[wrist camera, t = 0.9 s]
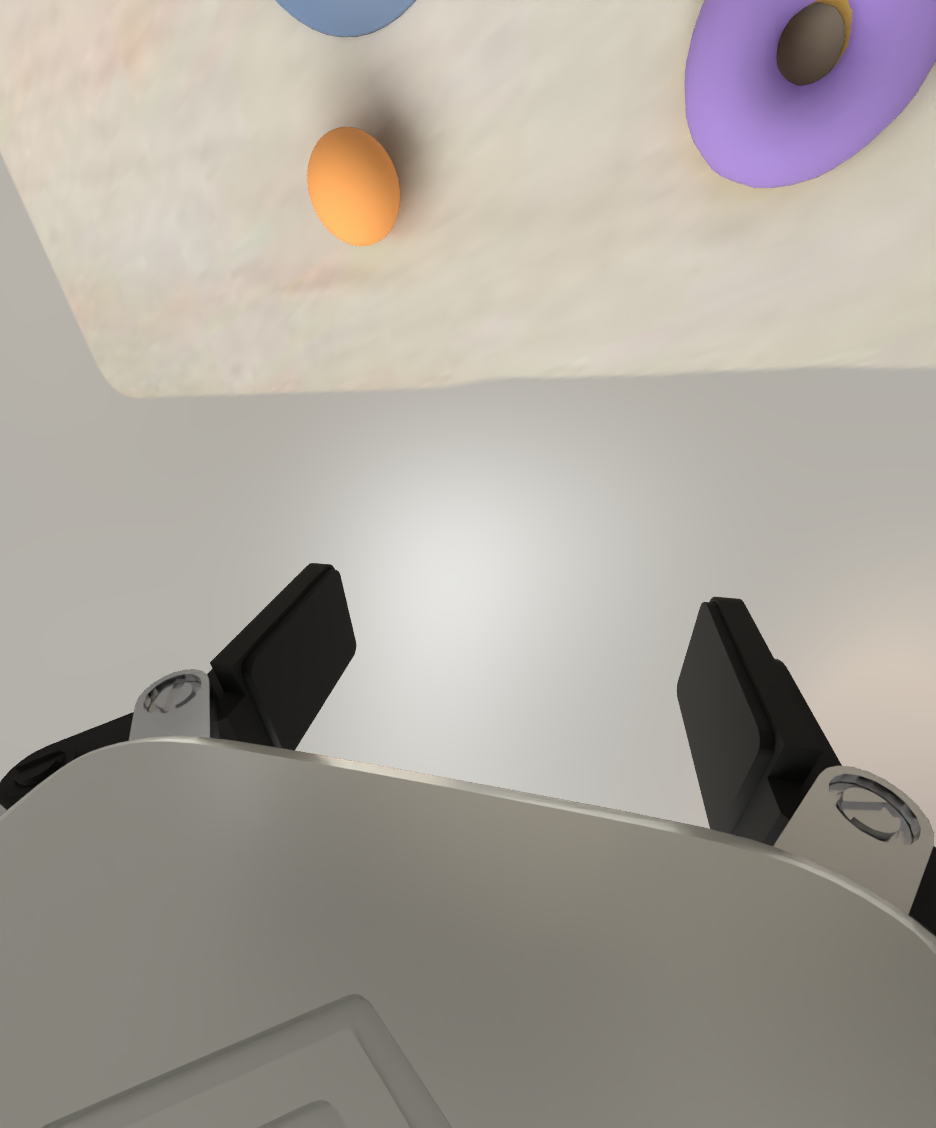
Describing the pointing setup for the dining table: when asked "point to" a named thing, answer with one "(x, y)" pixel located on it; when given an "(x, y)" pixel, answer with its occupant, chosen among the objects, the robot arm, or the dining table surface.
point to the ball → (353, 186)
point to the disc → (346, 14)
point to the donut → (800, 113)
